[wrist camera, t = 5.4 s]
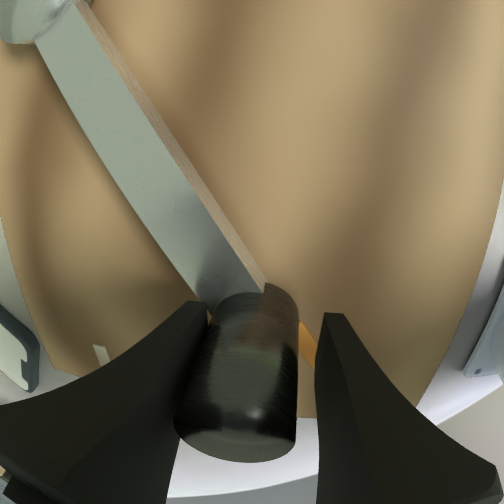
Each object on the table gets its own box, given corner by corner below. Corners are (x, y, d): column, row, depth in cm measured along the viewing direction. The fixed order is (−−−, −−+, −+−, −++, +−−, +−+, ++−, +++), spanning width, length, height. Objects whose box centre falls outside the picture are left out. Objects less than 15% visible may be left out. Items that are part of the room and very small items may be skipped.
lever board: (483, -19, 6) (502, -28, 5) (405, 396, 16) (410, 417, 14) (15, 3, 8) (-6, 0, 7) (64, 353, 18) (53, 368, 16)
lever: (11, 7, 7) (-85, 4, 2) (80, -65, 6) (-11, -102, 1) (232, 351, 13) (201, 468, 8) (329, 313, 11) (341, 444, 6)
